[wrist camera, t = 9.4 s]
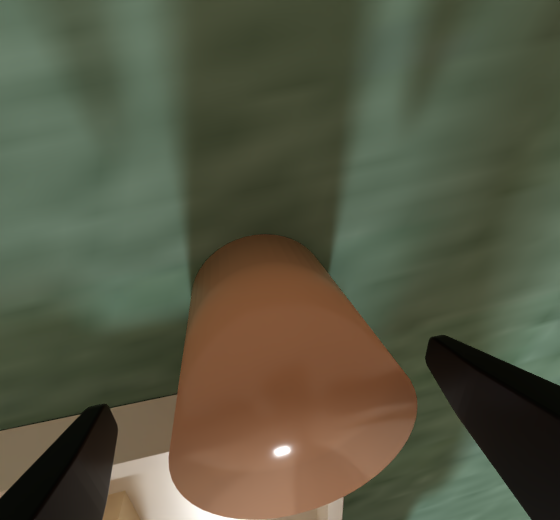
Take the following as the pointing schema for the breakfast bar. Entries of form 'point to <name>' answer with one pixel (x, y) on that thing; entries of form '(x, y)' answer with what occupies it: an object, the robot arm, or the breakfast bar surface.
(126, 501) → the maple block
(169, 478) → the tray
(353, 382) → the terracotta domed cylinder
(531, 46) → the breakfast bar surface
